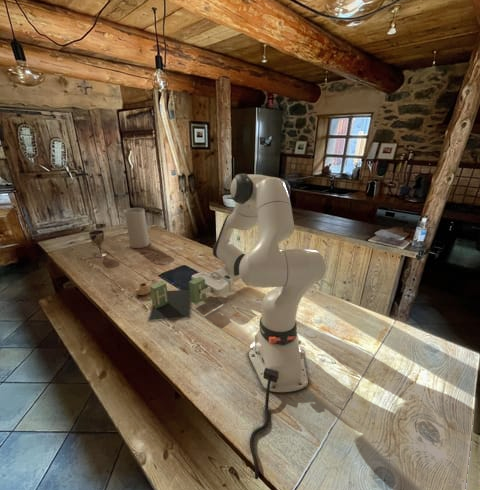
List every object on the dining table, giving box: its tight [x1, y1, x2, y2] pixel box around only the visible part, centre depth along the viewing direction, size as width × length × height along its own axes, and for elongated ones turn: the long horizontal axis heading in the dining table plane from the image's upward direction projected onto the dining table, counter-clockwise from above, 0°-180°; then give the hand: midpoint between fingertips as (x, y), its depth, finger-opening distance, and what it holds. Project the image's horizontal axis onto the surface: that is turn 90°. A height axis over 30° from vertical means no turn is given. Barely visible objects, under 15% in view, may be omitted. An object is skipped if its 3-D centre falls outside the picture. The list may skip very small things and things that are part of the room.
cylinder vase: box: [123, 207, 150, 249], centre depth 180 cm, size 12×12×25 cm
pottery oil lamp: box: [132, 279, 158, 296], centre depth 128 cm, size 9×12×7 cm
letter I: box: [188, 277, 207, 305], centre depth 116 cm, size 4×6×10 cm, turn 137°
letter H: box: [150, 280, 169, 308], centre depth 117 cm, size 4×6×10 cm, turn 137°
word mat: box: [149, 289, 191, 321], centre depth 120 cm, size 22×16×1 cm
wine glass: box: [88, 230, 108, 258], centre depth 167 cm, size 8×8×15 cm
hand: (196, 290), depth 115 cm, fingers closed on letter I, 4 cm apart
